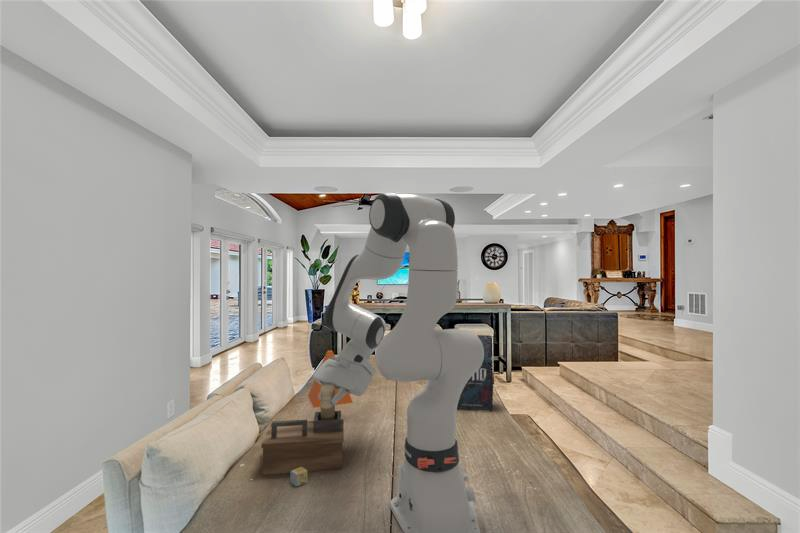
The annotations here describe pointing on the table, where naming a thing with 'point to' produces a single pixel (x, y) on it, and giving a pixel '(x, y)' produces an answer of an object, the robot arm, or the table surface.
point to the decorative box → (479, 383)
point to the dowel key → (327, 401)
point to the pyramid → (317, 388)
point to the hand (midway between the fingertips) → (326, 401)
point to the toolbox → (303, 445)
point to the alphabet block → (298, 476)
